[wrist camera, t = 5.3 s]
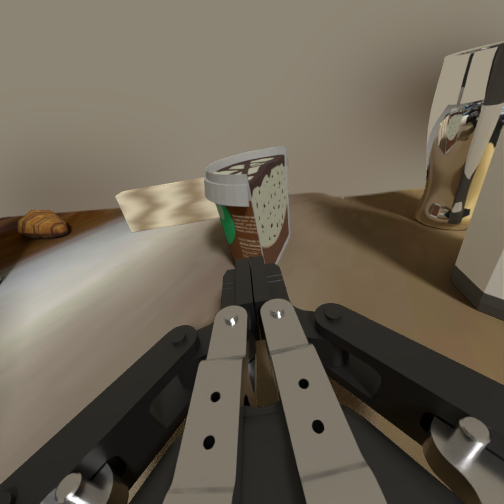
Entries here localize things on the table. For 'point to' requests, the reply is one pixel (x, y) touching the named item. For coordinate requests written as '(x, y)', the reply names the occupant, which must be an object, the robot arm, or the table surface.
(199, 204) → the maple board
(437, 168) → the beer glass
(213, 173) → the food container
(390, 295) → the table surface
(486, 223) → the wine bottle
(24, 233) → the croissant
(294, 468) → the robot arm
